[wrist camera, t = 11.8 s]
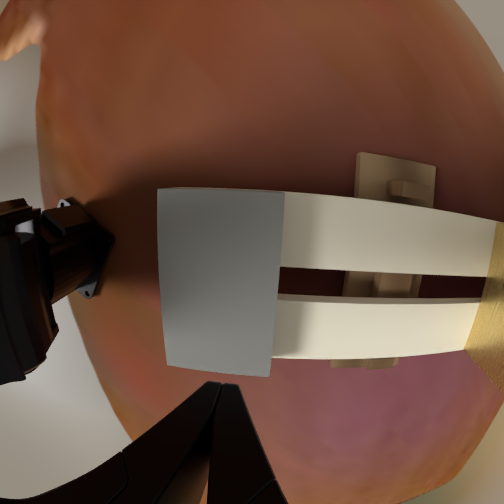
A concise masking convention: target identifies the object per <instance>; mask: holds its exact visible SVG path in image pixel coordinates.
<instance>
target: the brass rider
mask: <svg viewBox="0 0 504 504" xmlns="http://www.w3.org/2000/svg"><path fill="white" fill-rule="evenodd" d="M463 350H464V351H465V352H466V353H467V354H468V355H469V356H470V357H471V358H472V359H473V361H474V362H475V363H476V364H477V365H478V366H479V367H480V368H481V369H482V370H483V372H484V373H485V374H486V375H487V376H488V377H489V378H490V379H491V381H492V382H493V383H494V384H495V385H496V386H497V388H498V389H499V390H500V391H501V392H502V393H503V395H504V223H500V222H496V230H495V237H494V243H493V249H492V254H491V259H490V264H489V269H488V273H487V277H486V281H485V285H484V289H483V293H482V297H481V300H480V303H479V307H478V310H477V313H476V316H475V319H474V322H473V325H472V328H471V331H470V334H469V336H468V339H467V342H466V344H465V347H464V349H463Z"/></svg>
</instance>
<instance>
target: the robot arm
mask: <svg viewBox="0 0 504 504" xmlns="http://www.w3.org/2000/svg"><path fill="white" fill-rule="evenodd" d="M63 204H64V205H63ZM107 237H108V238H109V240H110V241H109V242H108V241H107ZM114 242H115V238H114V236H113V235H112V234H111V233H110V232H109V231H107V230H106V229H105V228H103V227H102V226H101V225H99V224H98V223H97V222H96V219H95V218H93V217H92V216H91V215H89V214H88V213H87V212H85V211H84V210H83V209H82V208H80V207H79V206H78V205H76V204H75V205H74V204H72V203H71V202H70V201H68V200H67V199H61V200H60V202H59V204H58V207H57V208H53V209H48V210H44V211H42V213H41V208H35V209H32V206H31V207H30V206H28V204H27V203H26V201H25V199H24V198H21V199H14V200H9V201H3V202H0V385H3V384H6V383H9V382H16V381H23V380H25V379H26V376H25V375H26V374H29V373H31V372H32V371H34V370H35V369H36V368H37V367H38V366H39V365H40V364H42V363H43V362H44V361H45V359H46V352H47V351H48V349H49V347H50V345H51V344H52V342H53V340H54V339H55V337H56V335H57V333H58V332H59V329H58V325H57V323H56V322H55V318H54V313H53V309H52V304H54V303H55V302H57V301H58V300H60V299H62V298H63V297H65V296H66V295H68V294H69V293H71V292H73V291H74V290H77V291H78V292H79V293H81V294H82V295H83V296H84V297H85V298H87V299H90V298H92V297H93V296H94V294H95V291H96V288H97V285H98V282H99V280H100V277H101V274H102V272H103V269H104V267H105V264H106V262H107V259H108V257H109V254H110V252H111V249H112V247H113V244H114ZM88 292H89V294H88ZM275 479H276V477H275V475H274V472H273V470H272V468H271V465H270V463H269V461H268V458H267V456H266V454H265V451H264V449H263V446H262V444H261V441H260V439H259V436H258V434H257V431H256V429H255V426H254V424H253V421H252V419H251V416H250V414H249V411H248V408H247V406H246V403H245V400H244V398H243V395H242V392H241V389H240V387H239V385H237V384H230V383H224V384H222V383H221V382H213V381H207V382H206V383H205V384H203V385H202V386H201V387H200V388H199V389H198V390H196V391H195V392H194V393H193V394H192V395H191V396H189V397H188V398H187V399H186V400H185V401H184V402H182V403H181V404H180V405H179V406H178V407H176V408H175V409H174V410H173V411H171V412H170V413H169V414H168V415H167V416H165V417H164V418H163V419H162V420H160V421H159V422H158V423H157V424H155V425H154V426H153V427H152V428H150V429H149V430H148V431H146V432H145V433H144V434H143V435H141V436H140V437H139V438H137V439H136V440H135V441H133V442H132V443H131V444H129V445H128V446H127V447H125V448H124V449H123V450H122V452H119V453H117V454H116V455H115V456H113V457H112V458H110V459H109V460H107V461H106V462H104V463H103V464H101V465H100V466H98V467H96V468H95V469H93V470H91V471H90V472H88V473H86V474H84V475H82V476H81V477H78V478H77V479H74V480H72V481H70V482H68V483H66V484H64V485H61V486H59V487H57V488H54V489H52V490H50V491H48V492H45V493H43V494H40V495H37V496H34V497H30V498H25V499H7V498H0V504H199V503H200V501H201V498H202V495H203V492H204V489H205V486H206V483H207V480H208V493H207V504H288V502H287V500H286V498H285V496H284V494H283V492H282V490H281V488H280V486H279V483H278V481H277V480H275Z"/></svg>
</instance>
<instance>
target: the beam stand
mask: <svg viewBox="0 0 504 504" xmlns="http://www.w3.org/2000/svg"><path fill="white" fill-rule="evenodd" d="M435 172H436V167H435V166H431V165H427V164H423V163H418V162H414V161H409V160H404V159H399V158H394V157H389V156H383V155H377V154H371V153H365V152H359V153H356V172H355V188H354V198H361V199H369V200H377V201H385V202H392V203H399V204H406V205H413V206H419V207H426V208H432V209H433V202H434V189H435ZM422 275H423V274H407V273H386V272H367V271H348V270H346V271H345V278H344V284H343V290H342V296H341V297H366V298H417V297H418V293H419V289H420V284H421V280H422ZM399 358H400V357H388V358H368V359H329V364H330V367H331V368H348V367H366V368H367V370H369V369H386V368H392V366H393V365H397V363H398V360H399Z"/></svg>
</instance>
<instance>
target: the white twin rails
mask: <svg viewBox="0 0 504 504" xmlns="http://www.w3.org/2000/svg"><path fill="white" fill-rule="evenodd" d="M496 222H498V221H494V220H489V219H485V218H480V217H475V216H470V215H465V214H460V213H454V212H449V211H443V210H438V209H432V208H426V207H419V206H413V205H406V204H399V203H392V202H385V201H377V200H369V199H361V198H352V197H343V196H333V195H322V194H311V193H299V192H286V191H270V190H252V189H230V188H190V187H176V188H163V189H157V241H158V268H159V286H160V300H161V312H162V323H163V333H164V342H165V350H166V358H167V365H170V366H176V367H182V368H189V369H195V370H203V371H210V372H218V373H227V374H237V375H248V376H262V377H269V375H270V366H271V357H273V358H294V359H368V358H388V357H403V356H415V355H425V354H434V353H442V352H450V351H457V350H463V349H464V347H465V344H466V342H467V339H468V336H469V334H470V331H471V328H472V325H473V322H474V319H475V316H476V313H477V310H478V307H479V303H480V300H481V298H366V297H336V296H313V295H294V294H278V284H279V272H280V266H281V267H297V268H313V269H330V270H348V271H367V272H386V273H407V274H428V275H452V276H478V277H487V273H488V269H489V264H490V259H491V254H492V249H493V243H494V237H495V230H496ZM500 223H503V222H500Z"/></svg>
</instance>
